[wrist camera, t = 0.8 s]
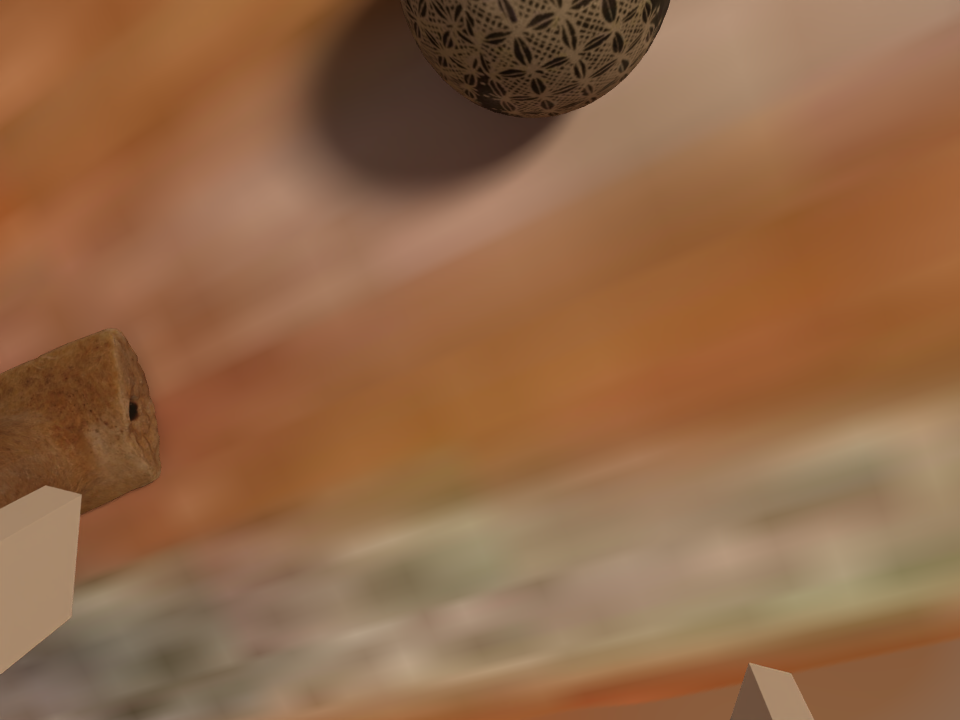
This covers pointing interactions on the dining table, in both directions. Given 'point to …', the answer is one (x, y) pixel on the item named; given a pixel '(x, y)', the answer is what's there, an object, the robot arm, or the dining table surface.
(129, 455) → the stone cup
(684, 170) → the dining table surface
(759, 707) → the robot arm
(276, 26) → the dining table surface
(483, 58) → the decorative egg
